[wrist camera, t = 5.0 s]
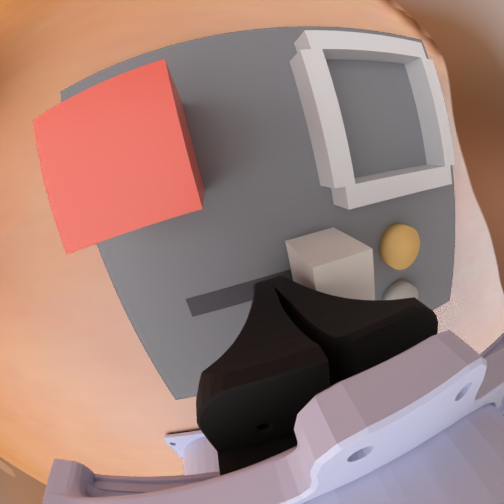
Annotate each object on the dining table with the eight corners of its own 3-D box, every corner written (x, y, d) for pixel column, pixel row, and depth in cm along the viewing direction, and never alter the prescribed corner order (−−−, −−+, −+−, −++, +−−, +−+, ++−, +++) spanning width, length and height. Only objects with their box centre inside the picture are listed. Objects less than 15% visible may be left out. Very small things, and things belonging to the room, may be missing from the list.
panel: (439, 293, 17) (462, 309, 14) (176, 386, 15) (174, 417, 13) (410, 44, 11) (436, 34, 8) (70, 96, 10) (45, 84, 7)
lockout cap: (204, 191, 11) (202, 208, 6) (118, 218, 11) (66, 254, 6) (181, 102, 10) (164, 58, 5) (95, 133, 9) (32, 119, 5)
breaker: (342, 299, 14) (374, 334, 10) (299, 314, 13) (324, 355, 10) (333, 227, 12) (372, 248, 9) (285, 240, 12) (312, 268, 9)
